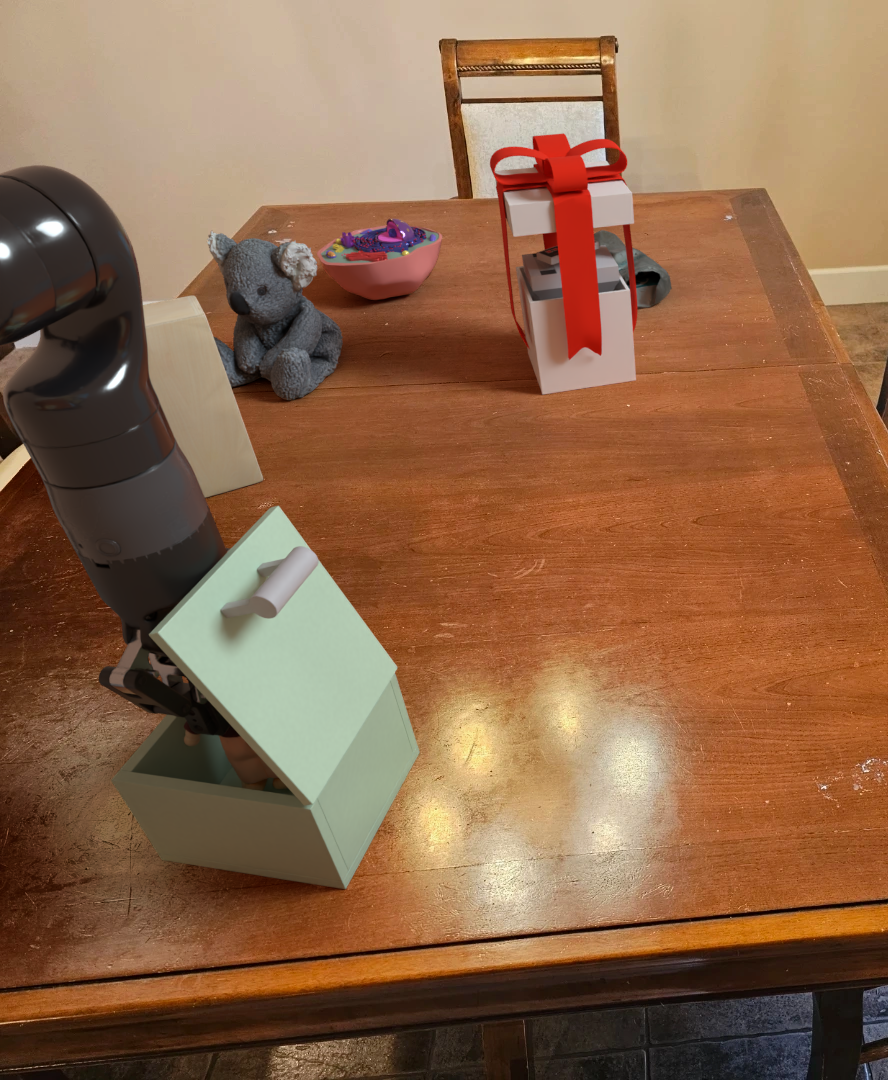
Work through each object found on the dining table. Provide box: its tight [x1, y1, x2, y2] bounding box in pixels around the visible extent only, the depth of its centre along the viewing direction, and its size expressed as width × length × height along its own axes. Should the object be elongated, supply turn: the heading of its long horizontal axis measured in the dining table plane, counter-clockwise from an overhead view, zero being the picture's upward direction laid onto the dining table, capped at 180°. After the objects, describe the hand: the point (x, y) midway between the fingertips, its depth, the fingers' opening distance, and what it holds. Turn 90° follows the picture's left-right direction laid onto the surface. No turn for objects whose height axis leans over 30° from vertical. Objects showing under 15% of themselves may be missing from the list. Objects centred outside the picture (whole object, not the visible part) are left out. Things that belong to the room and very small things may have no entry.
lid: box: [149, 505, 398, 805], centre depth 61 cm, size 16×13×5 cm
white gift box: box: [489, 133, 638, 395], centre depth 124 cm, size 17×17×30 cm
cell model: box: [316, 218, 443, 301], centre depth 151 cm, size 17×20×11 cm
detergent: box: [594, 229, 673, 310], centre depth 155 cm, size 13×7×25 cm
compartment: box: [110, 672, 421, 890], centre depth 70 cm, size 15×13×9 cm
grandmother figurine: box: [184, 721, 288, 791], centre depth 68 cm, size 8×4×13 cm, turn 114°
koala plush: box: [206, 229, 344, 401], centre depth 127 cm, size 17×18×20 cm
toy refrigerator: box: [143, 294, 264, 499], centre depth 104 cm, size 8×7×21 cm
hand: (230, 709), depth 67 cm, fingers closed on grandmother figurine, 3 cm apart
